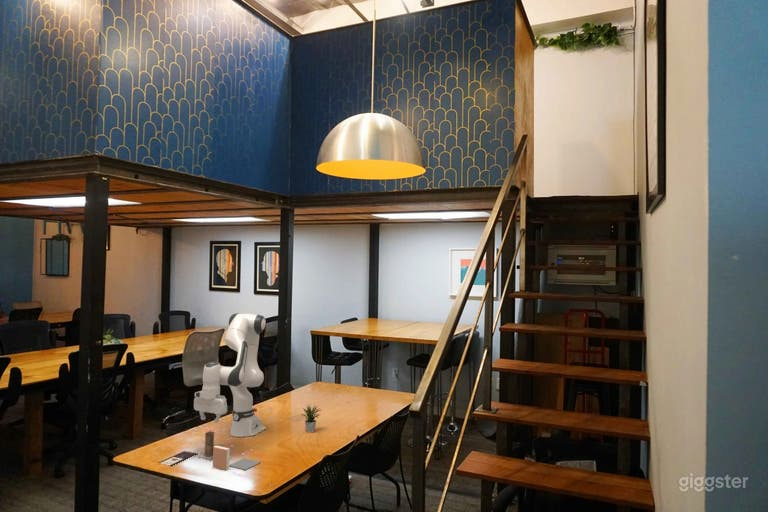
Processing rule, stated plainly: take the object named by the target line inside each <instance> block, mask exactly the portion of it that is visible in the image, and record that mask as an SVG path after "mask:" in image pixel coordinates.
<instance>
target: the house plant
mask: <svg viewBox="0 0 768 512" xmlns="http://www.w3.org/2000/svg"><path fill="white" fill-rule="evenodd" d="M310 404H311V403H309V405H308V404H307V405H306V408H303V407H302V409H303V411H304V412H305V413H306V414H304V413H301V414H300V415H301V416H304V417H305V419H304V425H305V427H304V428H305V432H306V431H307V432H306V433H308V432H311V433H313V432H312V431H314V432H315V431H316V426H317V425H316V424H317V420H316V419H315V418H317V419H318V420H319V416H321V413H318V412H321V411H323V409H321V407H320V408H318V405H316V404H314V405H313V407H311V405H310Z"/></svg>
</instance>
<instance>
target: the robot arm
mask: <svg viewBox="0 0 768 512" xmlns="http://www.w3.org/2000/svg"><path fill="white" fill-rule="evenodd" d="M266 321H267V320H266V318H265V316H264V315H261V314H256V313H255V314H253V313H239V312H238V313H237V312H236V313H233V314H231V315H230V317H229V319H228V327H227V330H226V332H225V335H224V342H225V344H226V346H228V347H229V348H230V349H231V350H234V351H235V352H237V357H236V361H235V365H234V366H224V365H221V364H220V362H218V361H208V362H207V363H205V364H204V367H203V372H202V384H203V385H202V388H201V390H199V391H196V392H194V399H193V409H194V410H195V411H198V412H199V415H200V420H202V421H205V420H206V415H205V413H210V414H215V416H216V418H214V423H219V422H220V418H221V416H222V415H223V416H224V415H226V414H227V412H228V403H227V398H226V397H225V395H221V385H222V386H229V388H230V390H231V393H232V398H233V400H232V401H233V409H232V412H231V413H232V418H231V423H230V424H231V425H230V429H229V436H231V437H236V438H239V437H240V438H242V437H243V438H244V436H245V437H254V435H255V436H257V435H258V434H259V432H260V433H261V432H264V431H265V430H266V429H267V427H266V426H264V425H263V423H262V419H261V418H260V417H259V416H257V415H256V413H257V412H258V407H257V408H256V407H253V403H254V402H253V401H254V399H253V394H252V393H251V392H250V391H249V390H248V388H257V387H260V386H261V385H263V382H264V379H265V377H264V372H263V371H262V370H261V369H260V367H259V364H258V351H259V342H260V334H261V333H263V331H264V330H265V327H266V324H267V323H266ZM255 412H256V413H255ZM264 429H265V430H264Z"/></svg>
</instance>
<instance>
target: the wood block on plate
mask: <svg viewBox="0 0 768 512" xmlns="http://www.w3.org/2000/svg"><path fill="white" fill-rule="evenodd" d="M214 446H215V432H214V431H210V430H209V431H207V432H205V439H204V453H203V454H201V455H199V456H198V459H201V458H202V460H206V461H213V447H214Z"/></svg>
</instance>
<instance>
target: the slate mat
mask: <svg viewBox="0 0 768 512" xmlns="http://www.w3.org/2000/svg"><path fill="white" fill-rule="evenodd" d="M257 464H258V465H260V464H261V461H259V460H253V459H251V458H250V459H249V458H241V459H239V460H237V461H234V462H233V463H229V468H234V469H238V470H242V471H248V470H250V469H252V468H254V467H255V466H257Z"/></svg>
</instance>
